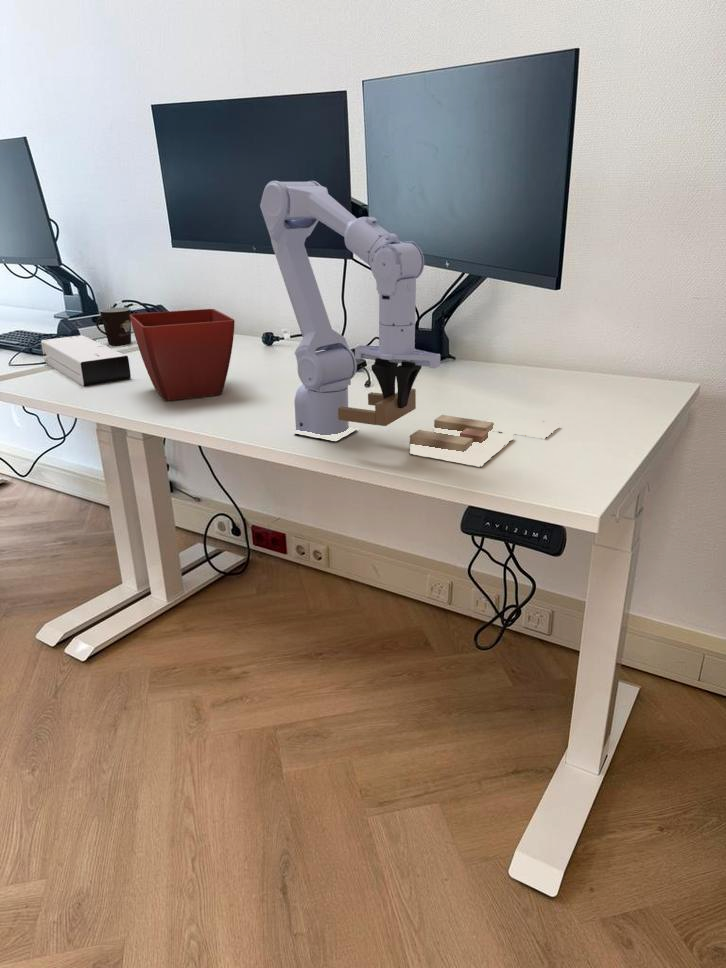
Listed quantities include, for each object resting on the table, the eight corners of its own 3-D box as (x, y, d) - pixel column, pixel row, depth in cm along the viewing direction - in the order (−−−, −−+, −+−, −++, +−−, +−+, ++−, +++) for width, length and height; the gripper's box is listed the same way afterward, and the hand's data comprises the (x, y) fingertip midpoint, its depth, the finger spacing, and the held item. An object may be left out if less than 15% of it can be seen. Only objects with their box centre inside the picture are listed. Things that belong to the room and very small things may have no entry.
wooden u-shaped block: (406, 454, 120) (406, 437, 119) (444, 428, 133) (445, 413, 132) (480, 467, 114) (481, 450, 113) (513, 439, 127) (514, 423, 126)
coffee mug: (128, 339, 216) (123, 306, 212) (139, 344, 210) (135, 309, 206) (90, 345, 209) (84, 310, 205) (101, 349, 203) (95, 314, 199)
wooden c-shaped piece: (338, 419, 117) (337, 399, 116) (371, 403, 126) (370, 383, 125) (385, 426, 113) (384, 405, 111) (415, 408, 122) (415, 388, 120)
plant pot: (219, 378, 171) (213, 307, 164) (241, 397, 155) (235, 319, 149) (138, 387, 164) (128, 313, 157) (153, 408, 148) (142, 327, 141)
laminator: (131, 381, 171) (128, 355, 168) (79, 389, 164) (75, 363, 161) (86, 357, 196) (83, 335, 193) (40, 363, 189) (36, 340, 186)
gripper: (344, 323, 112) (346, 405, 117) (427, 331, 105) (425, 418, 110) (366, 316, 117) (367, 395, 123) (447, 323, 111) (443, 407, 116)
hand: (396, 405), depth 117 cm, fingers closed on wooden c-shaped piece, 2 cm apart
